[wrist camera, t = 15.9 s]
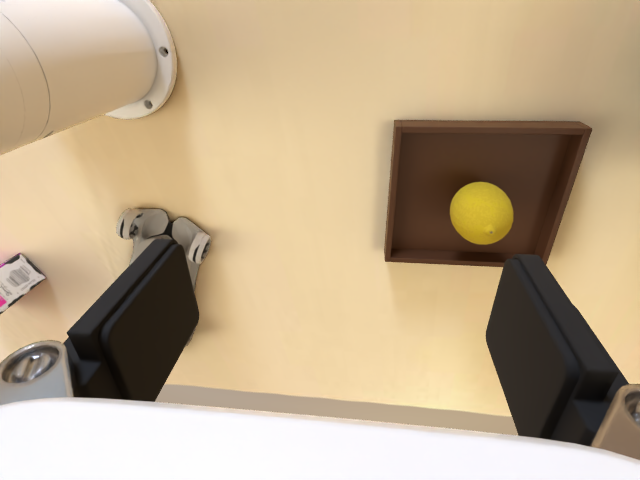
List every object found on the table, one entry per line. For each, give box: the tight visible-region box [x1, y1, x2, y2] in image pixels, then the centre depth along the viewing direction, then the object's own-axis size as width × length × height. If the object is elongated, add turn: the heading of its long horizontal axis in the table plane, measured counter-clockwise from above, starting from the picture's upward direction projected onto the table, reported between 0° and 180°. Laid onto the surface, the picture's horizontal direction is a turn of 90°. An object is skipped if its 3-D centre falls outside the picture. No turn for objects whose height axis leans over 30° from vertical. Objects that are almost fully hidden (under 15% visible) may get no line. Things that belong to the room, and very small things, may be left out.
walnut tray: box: [384, 120, 592, 267], centre depth 40 cm, size 17×15×2 cm
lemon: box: [450, 182, 513, 245], centre depth 37 cm, size 6×6×8 cm
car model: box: [116, 209, 211, 346], centre depth 51 cm, size 11×24×5 cm, turn 161°
